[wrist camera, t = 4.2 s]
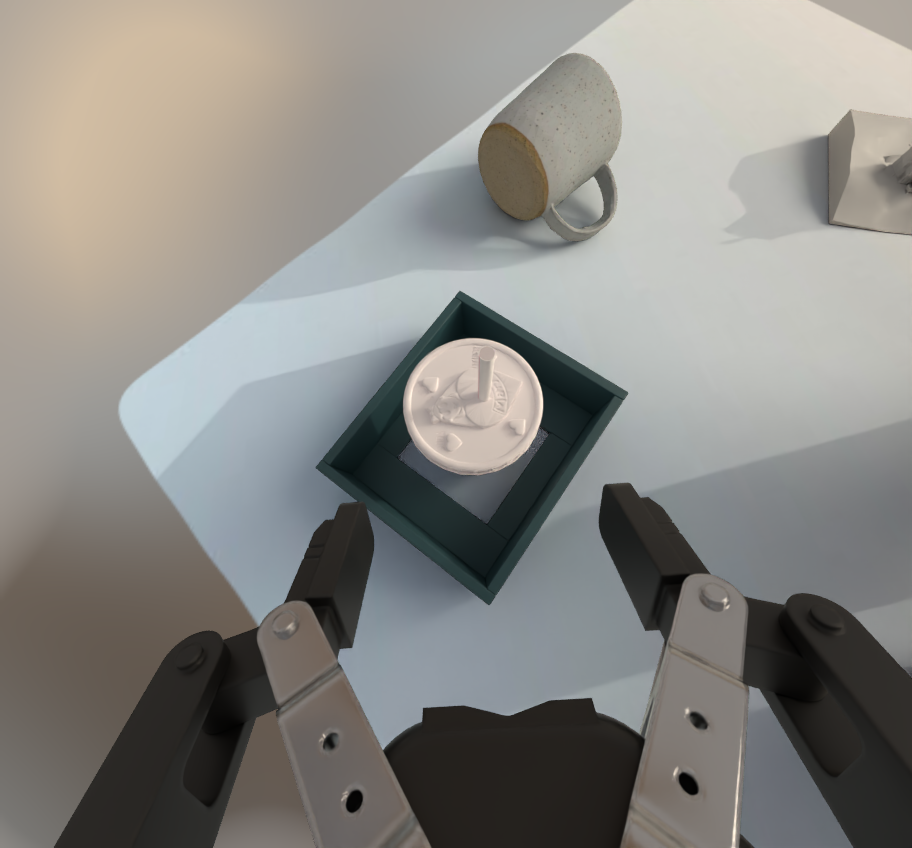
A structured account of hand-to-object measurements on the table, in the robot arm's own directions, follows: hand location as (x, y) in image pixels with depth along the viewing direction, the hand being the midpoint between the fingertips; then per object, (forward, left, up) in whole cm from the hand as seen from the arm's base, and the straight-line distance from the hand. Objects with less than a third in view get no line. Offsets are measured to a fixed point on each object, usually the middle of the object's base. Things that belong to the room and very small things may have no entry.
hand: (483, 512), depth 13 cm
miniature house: (-41, +12, -13) cm, 44 cm away
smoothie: (-4, -3, -13) cm, 14 cm away
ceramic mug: (-25, -10, -13) cm, 30 cm away
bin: (-4, -3, -12) cm, 13 cm away
